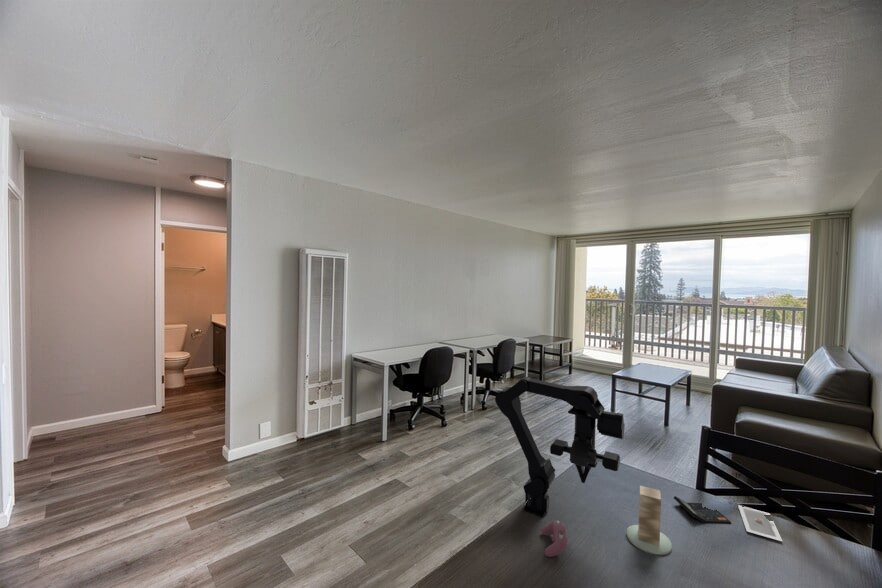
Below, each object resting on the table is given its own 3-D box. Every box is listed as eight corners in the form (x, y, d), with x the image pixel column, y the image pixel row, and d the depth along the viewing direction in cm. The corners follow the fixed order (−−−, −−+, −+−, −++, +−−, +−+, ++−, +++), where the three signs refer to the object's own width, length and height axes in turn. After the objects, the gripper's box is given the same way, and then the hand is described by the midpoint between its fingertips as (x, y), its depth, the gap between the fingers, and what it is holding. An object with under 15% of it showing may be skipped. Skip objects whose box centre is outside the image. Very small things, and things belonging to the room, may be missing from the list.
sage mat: (624, 544, 101) (624, 541, 101) (628, 522, 110) (629, 520, 110) (671, 561, 95) (671, 558, 95) (671, 537, 104) (672, 534, 104)
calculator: (730, 524, 110) (731, 515, 110) (692, 523, 111) (692, 513, 111) (708, 505, 120) (709, 496, 120) (673, 504, 120) (673, 495, 120)
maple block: (638, 540, 101) (640, 494, 101) (638, 529, 106) (639, 485, 105) (659, 546, 99) (661, 499, 99) (658, 535, 103) (659, 490, 103)
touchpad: (746, 534, 106) (746, 527, 106) (737, 508, 119) (738, 501, 119) (782, 545, 102) (783, 537, 102) (769, 516, 115) (769, 510, 115)
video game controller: (559, 565, 95) (572, 543, 94) (543, 555, 95) (556, 533, 95) (554, 539, 104) (566, 519, 104) (539, 530, 105) (551, 510, 104)
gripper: (545, 431, 106) (543, 484, 106) (615, 448, 96) (613, 507, 96) (556, 420, 115) (554, 468, 116) (621, 434, 105) (619, 487, 105)
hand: (583, 482), depth 108 cm, fingers closed
